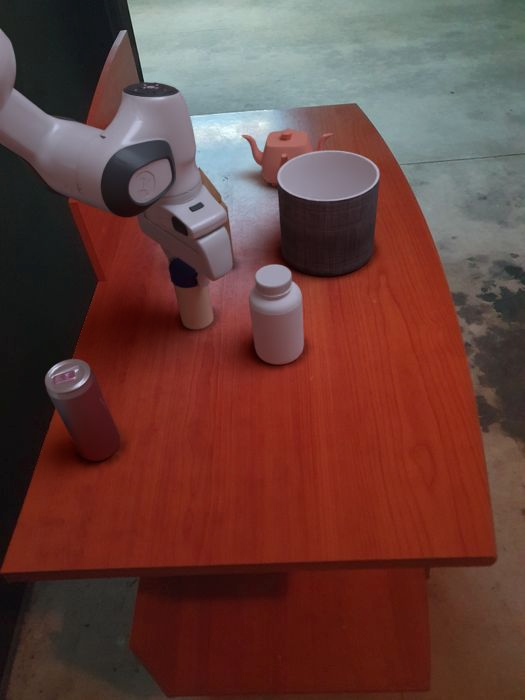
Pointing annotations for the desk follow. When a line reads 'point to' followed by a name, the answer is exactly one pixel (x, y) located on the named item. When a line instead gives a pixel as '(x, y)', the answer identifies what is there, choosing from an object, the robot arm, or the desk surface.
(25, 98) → the robot arm
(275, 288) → the pill bottle
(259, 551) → the desk surface
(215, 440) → the desk surface
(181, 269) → the jar lid
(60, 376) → the beverage can
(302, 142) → the teapot
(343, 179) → the planter
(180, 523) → the desk surface
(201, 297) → the jar
